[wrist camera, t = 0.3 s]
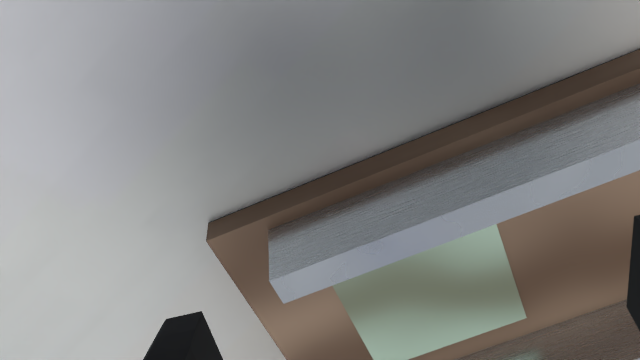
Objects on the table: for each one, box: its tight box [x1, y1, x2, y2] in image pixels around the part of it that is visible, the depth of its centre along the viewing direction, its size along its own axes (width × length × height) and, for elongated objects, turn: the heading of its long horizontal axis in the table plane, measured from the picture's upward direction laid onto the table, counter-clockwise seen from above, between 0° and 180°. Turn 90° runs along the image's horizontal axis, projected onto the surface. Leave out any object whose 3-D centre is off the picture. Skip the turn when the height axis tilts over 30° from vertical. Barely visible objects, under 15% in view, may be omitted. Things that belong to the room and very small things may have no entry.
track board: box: [206, 49, 640, 360], centre depth 22 cm, size 16×26×1 cm, turn 113°
